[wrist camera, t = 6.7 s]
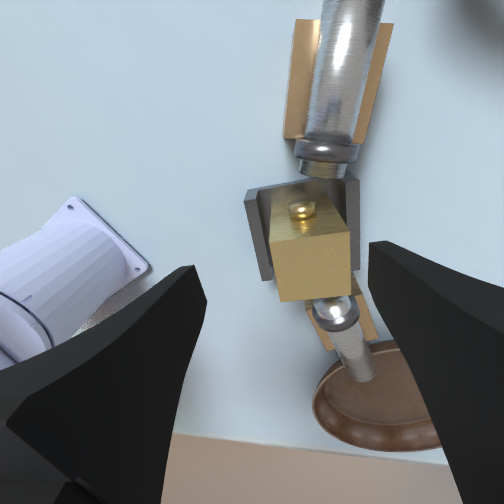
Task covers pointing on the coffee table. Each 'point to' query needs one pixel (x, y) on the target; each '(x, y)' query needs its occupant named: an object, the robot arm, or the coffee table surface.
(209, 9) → the coffee table surface
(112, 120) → the coffee table surface
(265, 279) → the cradle
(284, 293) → the block
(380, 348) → the plant saucer
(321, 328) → the shaft
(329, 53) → the shaft
